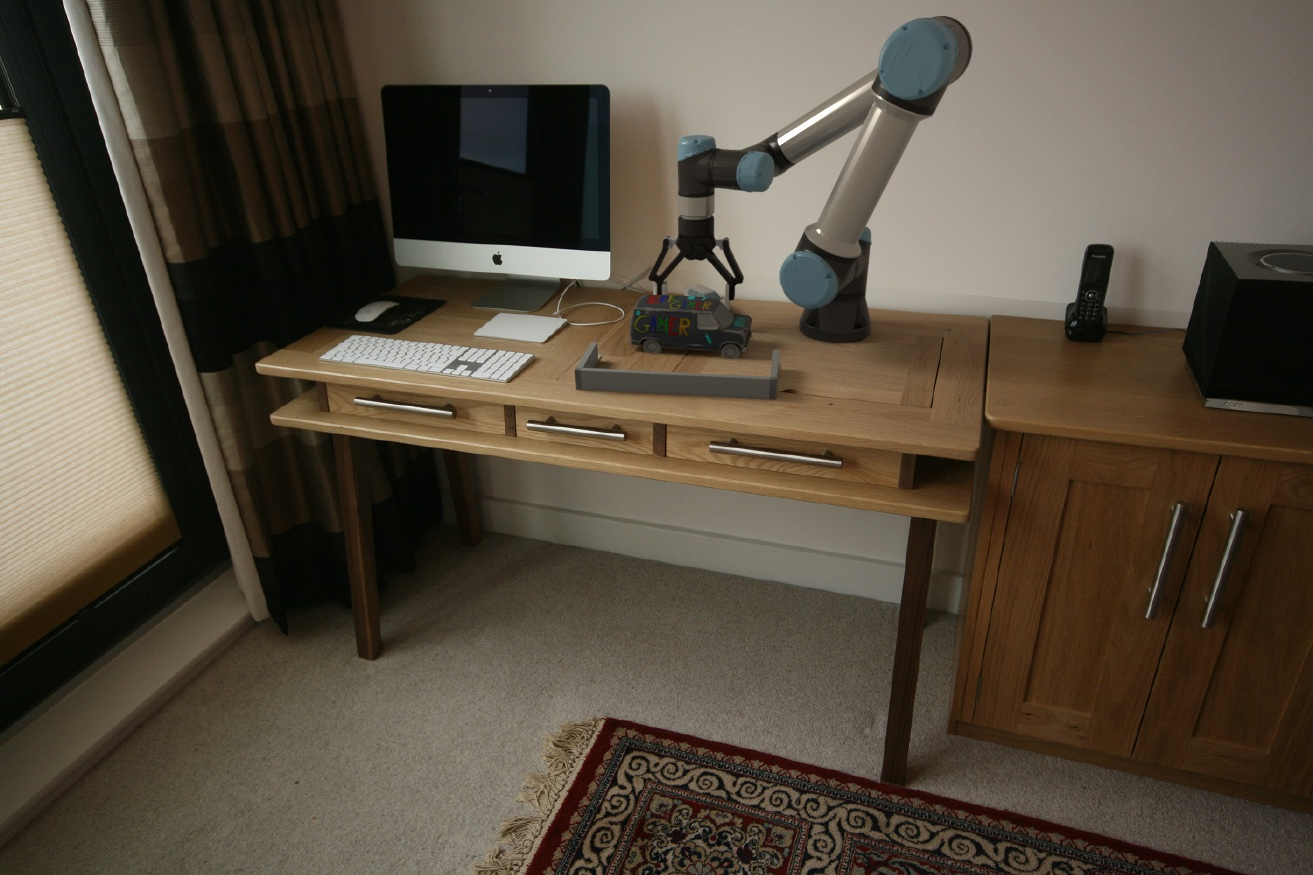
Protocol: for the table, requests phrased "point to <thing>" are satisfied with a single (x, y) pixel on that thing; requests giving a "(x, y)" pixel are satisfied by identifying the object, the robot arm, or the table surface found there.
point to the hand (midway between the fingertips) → (695, 313)
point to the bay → (673, 380)
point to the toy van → (688, 325)
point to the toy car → (703, 292)
